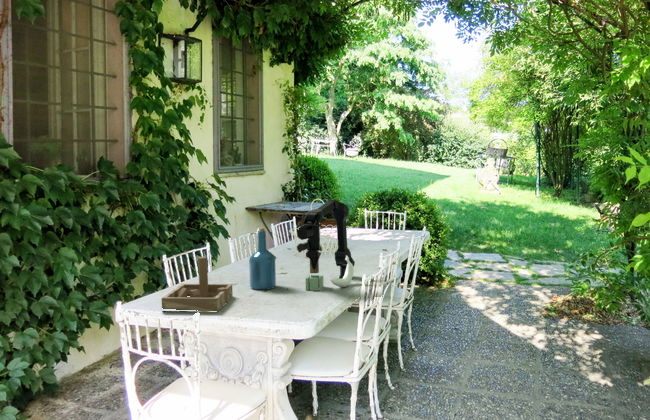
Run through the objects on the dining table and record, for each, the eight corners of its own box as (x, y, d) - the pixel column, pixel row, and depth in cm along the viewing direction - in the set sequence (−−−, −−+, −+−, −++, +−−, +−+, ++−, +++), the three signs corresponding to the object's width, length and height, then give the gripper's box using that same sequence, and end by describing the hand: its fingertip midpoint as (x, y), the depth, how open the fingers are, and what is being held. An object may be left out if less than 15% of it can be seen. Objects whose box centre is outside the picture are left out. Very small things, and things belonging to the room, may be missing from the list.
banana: (330, 290, 281) (330, 260, 280) (347, 282, 298) (346, 254, 297) (339, 291, 279) (339, 261, 278) (355, 283, 296) (355, 254, 294)
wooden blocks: (169, 305, 257) (167, 261, 256) (207, 297, 271) (205, 255, 269) (190, 312, 245) (187, 266, 243) (228, 303, 259) (226, 259, 257)
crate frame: (182, 296, 273) (182, 283, 272) (232, 296, 271) (232, 284, 270) (162, 311, 246) (161, 298, 245) (217, 312, 244) (216, 298, 243)
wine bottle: (251, 291, 281) (250, 230, 278) (248, 285, 294) (246, 227, 291) (279, 289, 285) (278, 229, 282) (274, 283, 297) (273, 225, 294)
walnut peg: (318, 271, 286) (318, 253, 285) (318, 273, 282) (317, 255, 281) (310, 271, 286) (310, 253, 285) (310, 273, 282) (309, 255, 282)
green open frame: (307, 286, 289) (307, 274, 289) (323, 286, 289) (323, 274, 288) (305, 290, 281) (305, 278, 281) (322, 290, 281) (321, 278, 280)
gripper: (300, 234, 292) (300, 264, 294) (295, 240, 274) (295, 272, 275) (321, 234, 291) (322, 264, 293) (318, 239, 273) (319, 272, 275)
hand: (314, 268), depth 284 cm, fingers closed on walnut peg, 4 cm apart
